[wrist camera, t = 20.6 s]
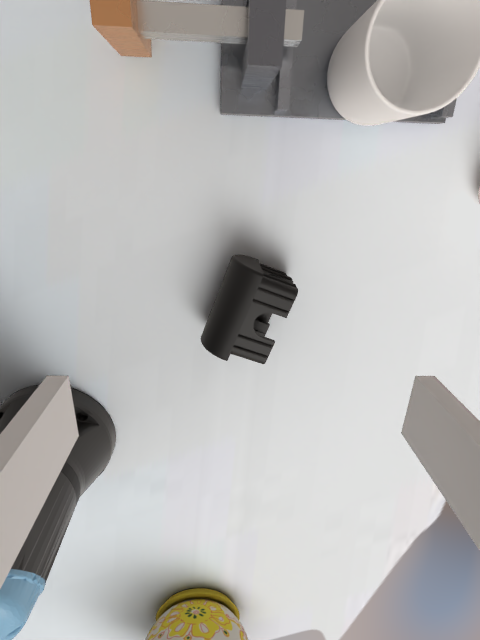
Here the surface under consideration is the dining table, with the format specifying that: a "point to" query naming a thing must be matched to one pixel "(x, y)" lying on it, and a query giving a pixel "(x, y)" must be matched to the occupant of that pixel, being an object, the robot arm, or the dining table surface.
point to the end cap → (247, 309)
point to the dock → (291, 61)
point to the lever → (177, 24)
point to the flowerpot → (197, 617)
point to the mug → (404, 59)
